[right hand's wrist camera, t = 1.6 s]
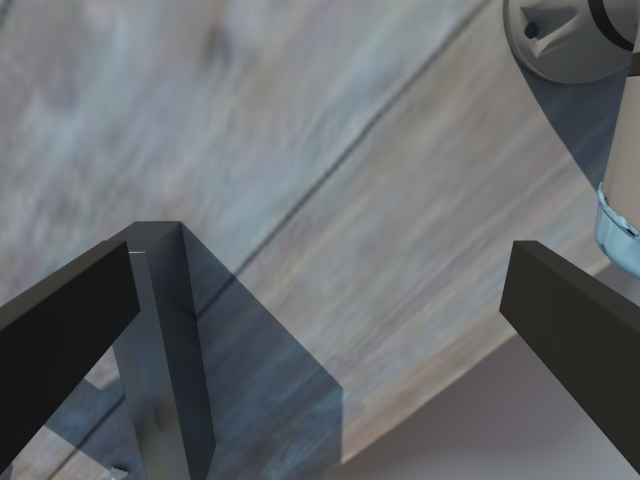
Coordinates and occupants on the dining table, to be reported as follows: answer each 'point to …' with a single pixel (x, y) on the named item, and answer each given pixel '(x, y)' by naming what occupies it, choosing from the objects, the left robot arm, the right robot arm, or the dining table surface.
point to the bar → (164, 357)
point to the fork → (118, 474)
